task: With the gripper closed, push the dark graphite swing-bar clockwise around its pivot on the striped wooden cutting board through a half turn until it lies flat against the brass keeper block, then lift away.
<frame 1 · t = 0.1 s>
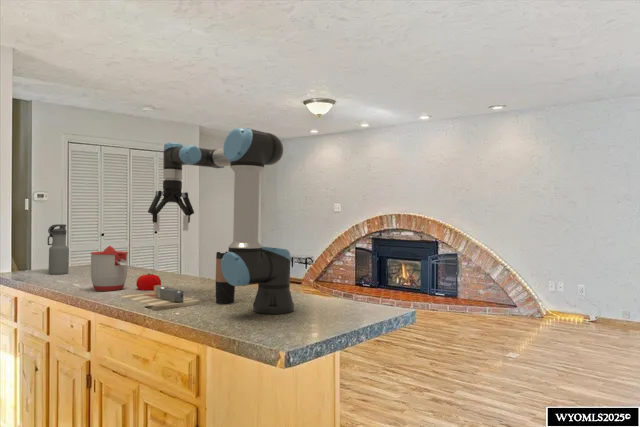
hand: (171, 230, 189), 28 cm above the table, fingers open, 13 cm apart
travel mug: (224, 303, 179), on the table
water bottle: (58, 274, 256), on the table
striped wooden cutting board: (157, 301, 178), on the table
citrus juicer: (110, 290, 205), on the table
tomato: (148, 292, 199), on the table
keeper: (158, 294, 187), resting on striped wooden cutting board
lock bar: (169, 294, 174), point 4 cm above the table, hinge at 0.0°
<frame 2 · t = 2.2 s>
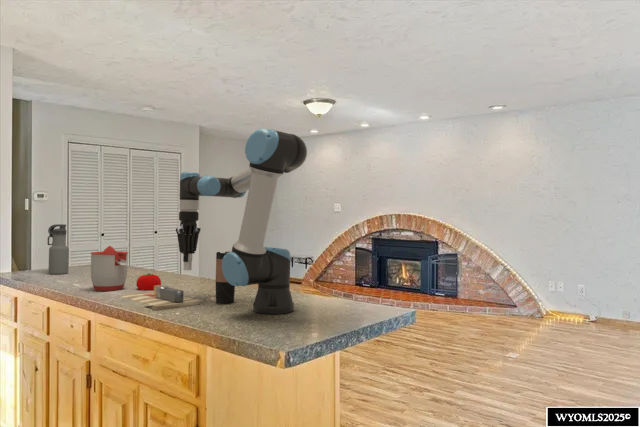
hand: (187, 269, 180), 13 cm above the table, fingers closed
nothing on the table moved.
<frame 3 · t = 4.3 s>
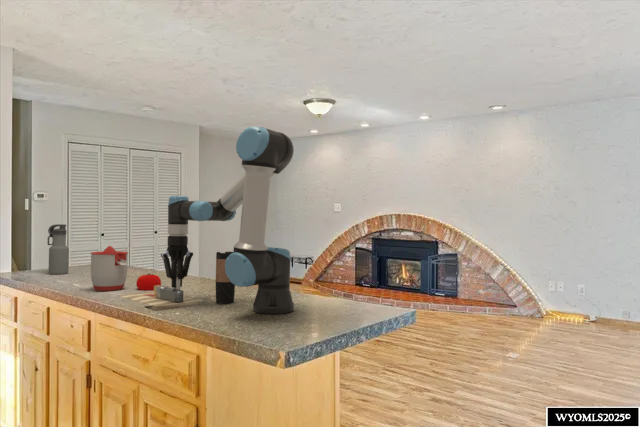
hand: (176, 295, 176), 3 cm above the table, fingers closed
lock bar: (169, 294, 174), point 4 cm above the table, hinge at 0.1°, touching gripper
everything else where it was.
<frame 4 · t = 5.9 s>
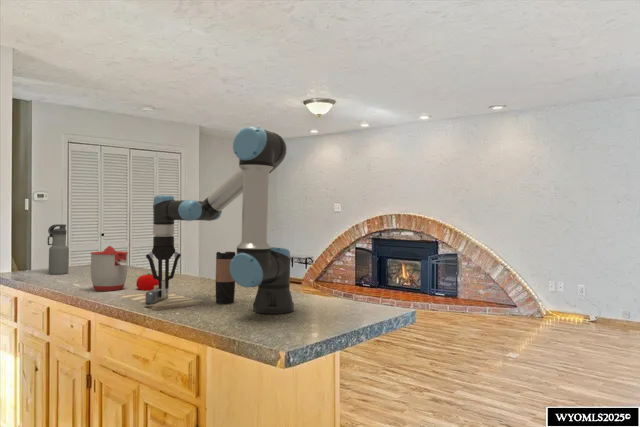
hand: (163, 297, 172), 3 cm above the table, fingers closed
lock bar: (156, 294, 173), point 4 cm above the table, hinge at 49.2°, touching gripper
everything else where it was.
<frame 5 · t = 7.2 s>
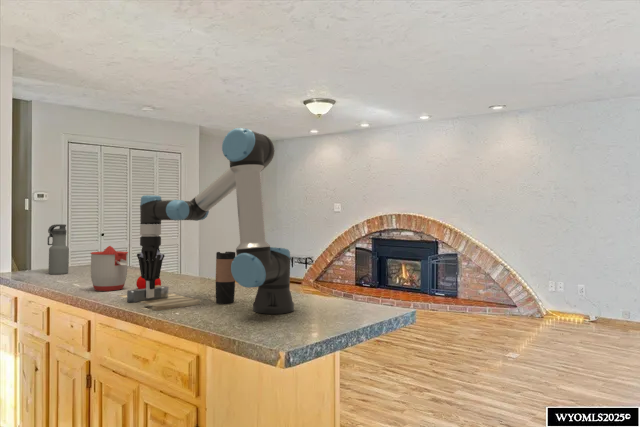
hand: (150, 297, 172), 3 cm above the table, fingers closed
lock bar: (148, 293, 174), point 4 cm above the table, hinge at 92.6°, touching gripper
everything else where it was.
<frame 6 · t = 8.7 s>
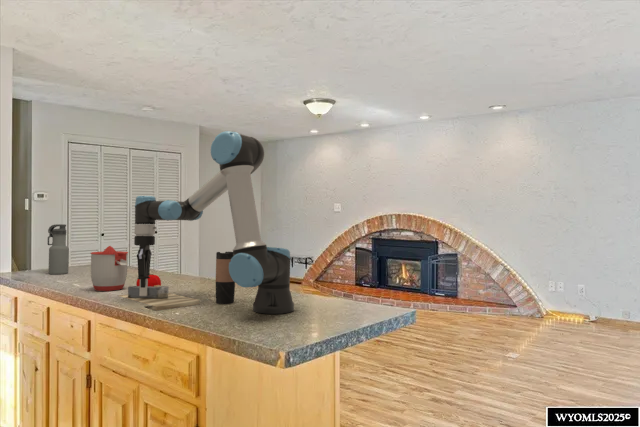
hand: (143, 295, 176), 3 cm above the table, fingers closed
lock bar: (148, 291, 179), point 4 cm above the table, hinge at 141.8°, touching gripper
everything else where it was.
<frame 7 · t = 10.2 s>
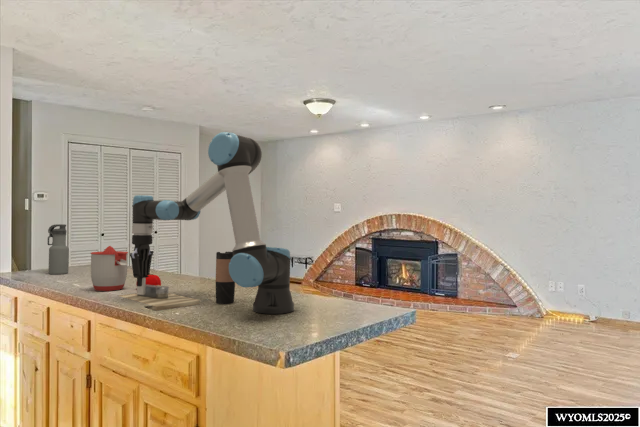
hand: (141, 294, 177), 3 cm above the table, fingers closed
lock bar: (152, 290, 181), point 4 cm above the table, hinge at 168.1°
everything else where it was.
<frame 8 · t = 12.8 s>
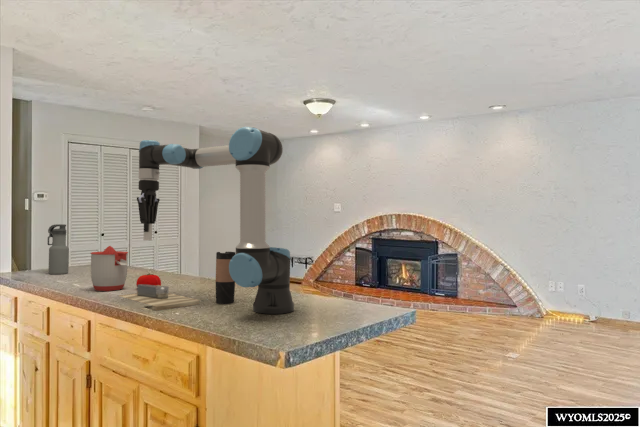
hand: (147, 240, 177), 24 cm above the table, fingers closed
nothing on the table moved.
at the end: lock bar at +168° (first picture: +0°) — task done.
